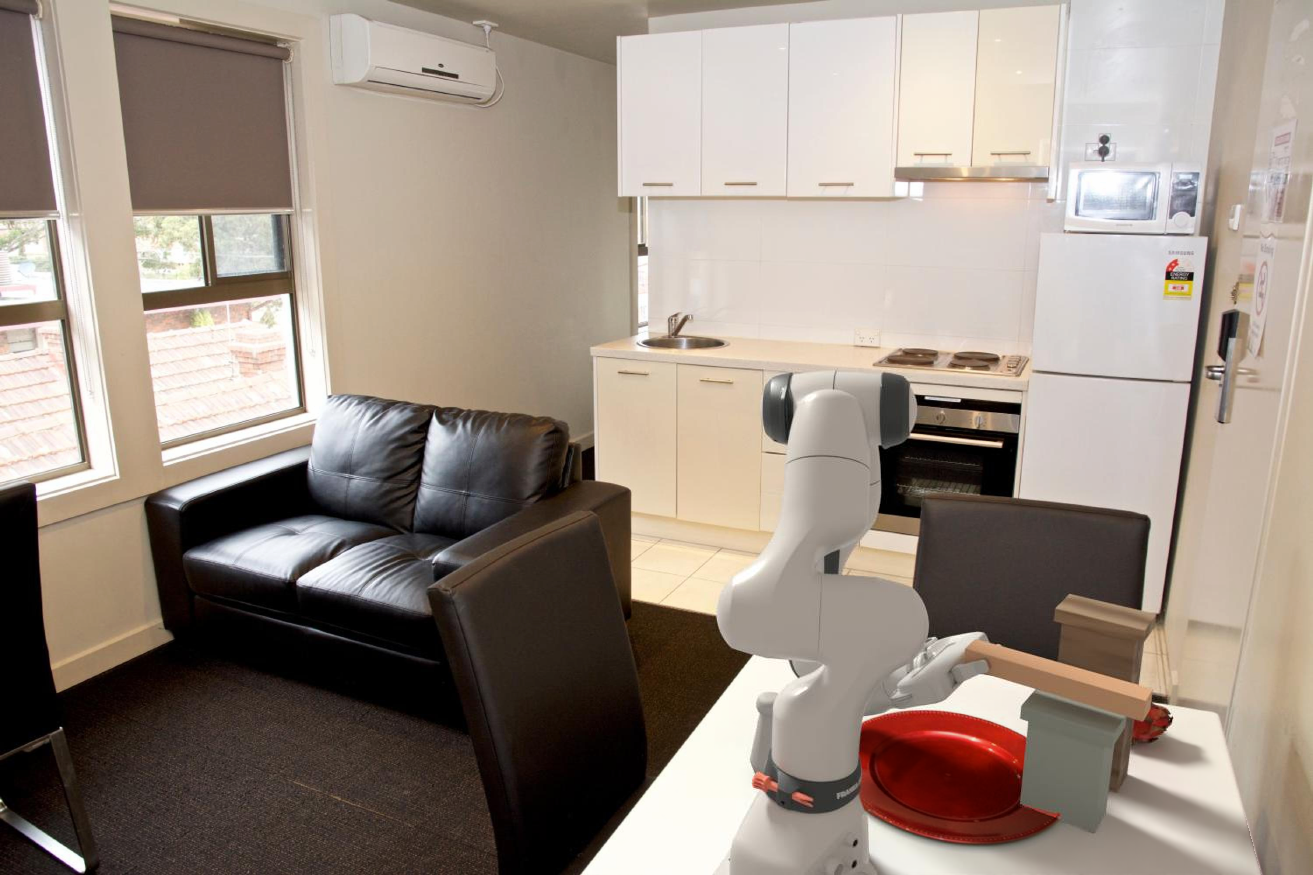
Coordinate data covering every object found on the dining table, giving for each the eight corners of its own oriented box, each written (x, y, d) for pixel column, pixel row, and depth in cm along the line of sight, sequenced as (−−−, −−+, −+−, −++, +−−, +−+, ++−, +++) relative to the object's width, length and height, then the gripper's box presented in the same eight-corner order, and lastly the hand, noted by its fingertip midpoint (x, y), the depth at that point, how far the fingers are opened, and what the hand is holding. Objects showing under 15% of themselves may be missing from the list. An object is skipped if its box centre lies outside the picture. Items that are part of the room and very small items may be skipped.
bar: (1142, 721, 124) (1145, 700, 124) (963, 667, 139) (965, 648, 138) (1150, 709, 127) (1152, 688, 127) (973, 657, 142) (975, 638, 141)
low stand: (1100, 837, 129) (1113, 734, 125) (1011, 803, 136) (1021, 705, 133) (1114, 812, 134) (1126, 713, 131) (1027, 781, 142) (1037, 686, 138)
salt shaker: (787, 764, 146) (790, 687, 143) (789, 786, 140) (792, 706, 137) (749, 762, 146) (751, 685, 143) (749, 784, 141) (751, 704, 138)
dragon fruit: (1086, 740, 155) (1160, 754, 155) (1110, 736, 148) (1188, 750, 147) (1086, 688, 159) (1159, 700, 158) (1109, 680, 151) (1186, 694, 150)
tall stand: (1123, 796, 138) (1144, 630, 132) (1038, 766, 145) (1055, 608, 139) (1135, 774, 143) (1156, 614, 137) (1052, 747, 151) (1069, 593, 145)
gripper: (874, 682, 139) (958, 663, 130) (931, 634, 154) (1009, 614, 146) (892, 723, 138) (977, 706, 129) (948, 671, 154) (1027, 653, 145)
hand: (995, 657), depth 138 cm, fingers closed on bar, 4 cm apart
